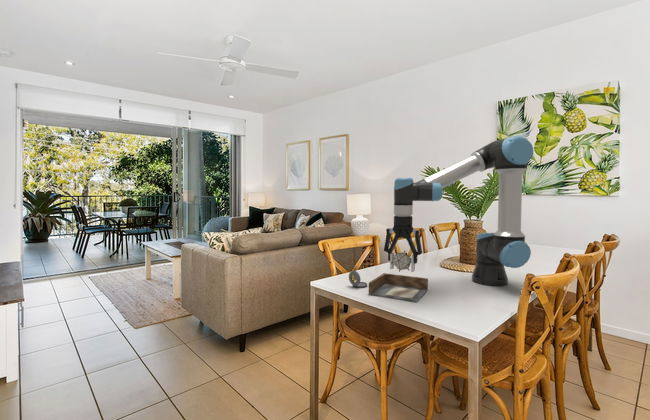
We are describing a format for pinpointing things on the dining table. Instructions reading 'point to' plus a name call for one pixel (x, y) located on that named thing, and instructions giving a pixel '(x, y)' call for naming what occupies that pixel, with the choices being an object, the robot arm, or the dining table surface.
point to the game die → (402, 261)
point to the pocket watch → (357, 278)
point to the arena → (399, 287)
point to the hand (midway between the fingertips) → (402, 269)
